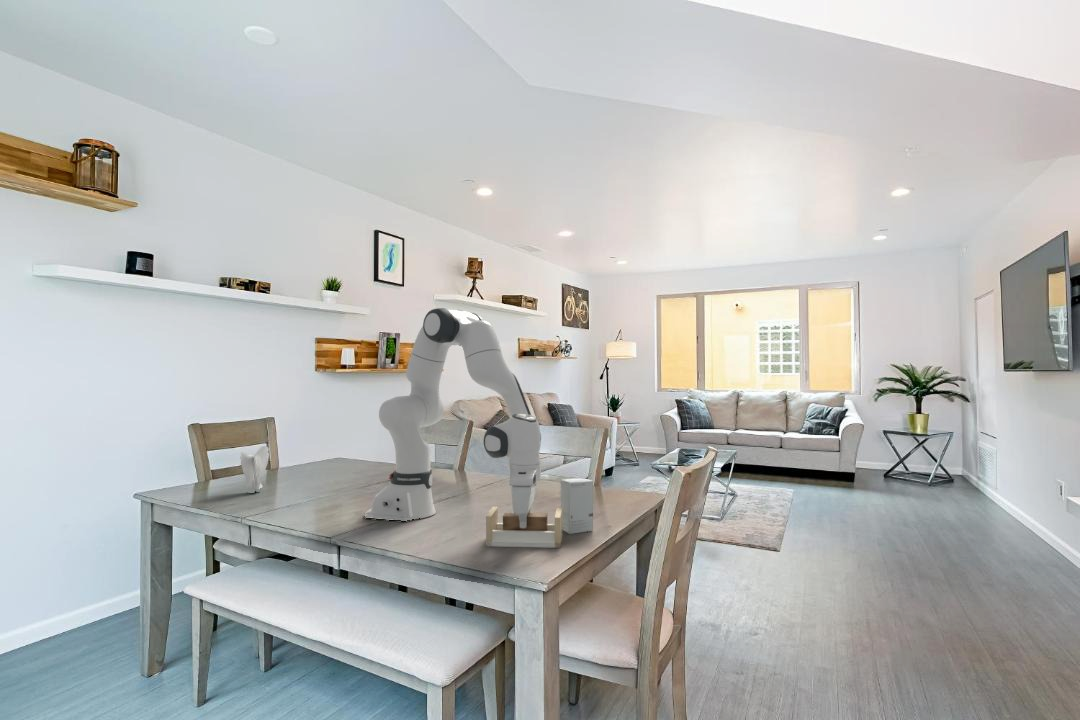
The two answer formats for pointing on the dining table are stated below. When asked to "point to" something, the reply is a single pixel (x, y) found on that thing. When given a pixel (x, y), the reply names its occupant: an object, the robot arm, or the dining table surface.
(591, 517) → the skincare box
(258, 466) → the shell sculpture
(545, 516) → the brown wooden block
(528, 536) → the track
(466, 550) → the dining table surface
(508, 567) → the dining table surface
